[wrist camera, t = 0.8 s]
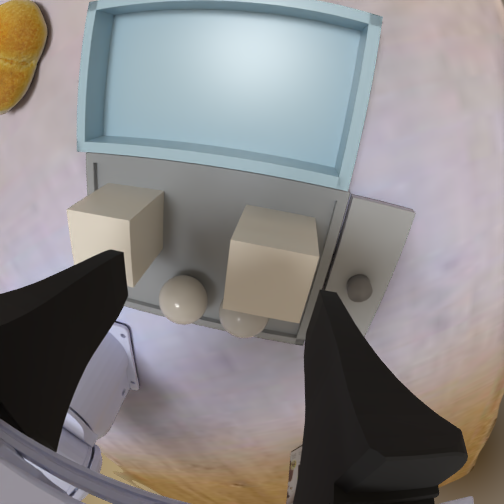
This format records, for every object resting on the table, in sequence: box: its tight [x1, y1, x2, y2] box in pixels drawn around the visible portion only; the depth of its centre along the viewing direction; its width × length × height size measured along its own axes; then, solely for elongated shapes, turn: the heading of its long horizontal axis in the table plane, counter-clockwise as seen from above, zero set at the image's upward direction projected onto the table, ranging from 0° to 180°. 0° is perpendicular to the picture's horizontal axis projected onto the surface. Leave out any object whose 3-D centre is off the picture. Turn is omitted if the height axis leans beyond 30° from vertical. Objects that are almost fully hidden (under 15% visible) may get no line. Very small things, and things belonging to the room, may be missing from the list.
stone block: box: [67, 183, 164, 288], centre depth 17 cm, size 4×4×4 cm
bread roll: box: [0, 0, 47, 115], centre depth 13 cm, size 8×9×4 cm
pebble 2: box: [219, 298, 269, 338], centre depth 20 cm, size 3×3×3 cm
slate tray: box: [86, 152, 416, 346], centre depth 20 cm, size 12×20×1 cm, turn 82°
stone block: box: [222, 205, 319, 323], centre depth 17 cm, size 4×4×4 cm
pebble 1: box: [159, 275, 208, 325], centre depth 20 cm, size 3×3×3 cm
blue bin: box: [77, 0, 383, 191], centre depth 14 cm, size 9×15×2 cm, turn 82°
